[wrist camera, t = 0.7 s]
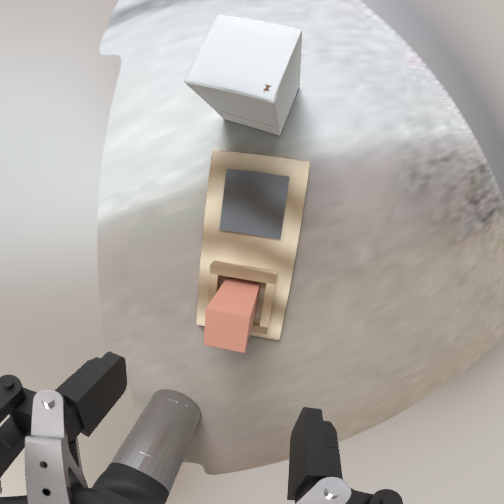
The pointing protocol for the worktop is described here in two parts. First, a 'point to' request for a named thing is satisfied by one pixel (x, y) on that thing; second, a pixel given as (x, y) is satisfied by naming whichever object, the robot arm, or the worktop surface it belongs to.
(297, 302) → the worktop surface
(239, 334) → the block
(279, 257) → the board
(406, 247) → the worktop surface
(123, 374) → the robot arm
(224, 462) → the worktop surface
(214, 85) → the supplement box
